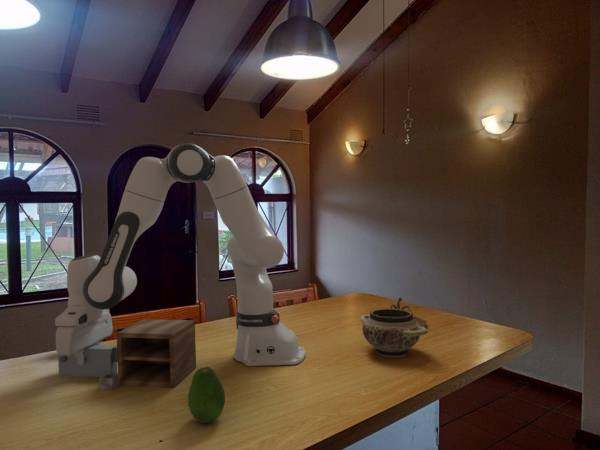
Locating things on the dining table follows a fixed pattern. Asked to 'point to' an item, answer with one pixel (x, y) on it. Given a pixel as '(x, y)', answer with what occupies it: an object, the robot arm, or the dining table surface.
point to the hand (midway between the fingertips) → (87, 360)
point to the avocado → (206, 395)
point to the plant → (419, 320)
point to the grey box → (90, 362)
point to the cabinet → (153, 354)
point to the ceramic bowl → (391, 331)
